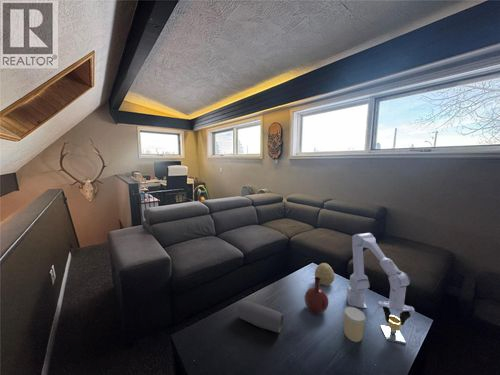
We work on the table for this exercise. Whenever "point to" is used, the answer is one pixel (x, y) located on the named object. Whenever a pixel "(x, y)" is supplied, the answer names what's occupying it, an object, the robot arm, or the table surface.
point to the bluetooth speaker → (260, 316)
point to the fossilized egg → (324, 274)
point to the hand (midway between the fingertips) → (393, 322)
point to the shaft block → (392, 334)
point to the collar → (394, 323)
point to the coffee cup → (354, 323)
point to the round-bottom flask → (316, 298)
